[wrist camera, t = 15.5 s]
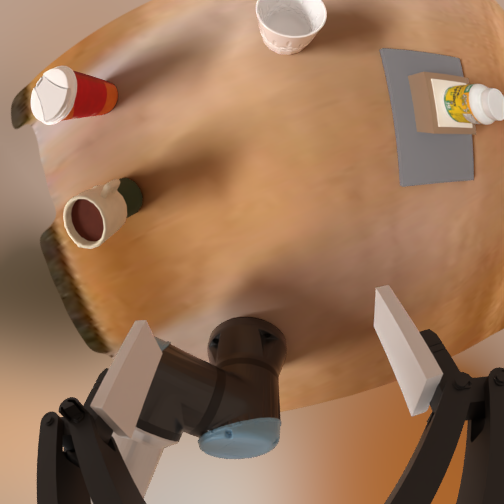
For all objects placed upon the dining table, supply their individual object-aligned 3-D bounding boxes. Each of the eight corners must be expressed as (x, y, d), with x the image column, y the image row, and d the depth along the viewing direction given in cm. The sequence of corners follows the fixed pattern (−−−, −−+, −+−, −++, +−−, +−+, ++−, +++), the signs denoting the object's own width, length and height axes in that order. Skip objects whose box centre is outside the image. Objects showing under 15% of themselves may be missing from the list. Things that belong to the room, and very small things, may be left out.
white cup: (288, 68, 33) (296, 50, 24) (245, 37, 31) (240, 11, 22) (323, 36, 30) (340, 12, 21) (282, 5, 28) (287, -25, 19)
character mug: (127, 156, 39) (80, 170, 27) (161, 182, 40) (123, 205, 29) (98, 209, 43) (52, 237, 31) (128, 233, 44) (89, 269, 32)
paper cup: (78, 101, 35) (21, 101, 22) (107, 67, 32) (53, 53, 20) (101, 131, 37) (45, 138, 24) (133, 96, 35) (81, 88, 22)
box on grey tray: (470, 178, 37) (491, 187, 31) (400, 185, 39) (418, 194, 33) (456, 59, 28) (477, 54, 23) (379, 49, 30) (396, 39, 24)
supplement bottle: (461, 129, 29) (505, 135, 20) (436, 108, 28) (480, 109, 19) (470, 100, 26) (513, 101, 18) (445, 79, 26) (488, 73, 17)
